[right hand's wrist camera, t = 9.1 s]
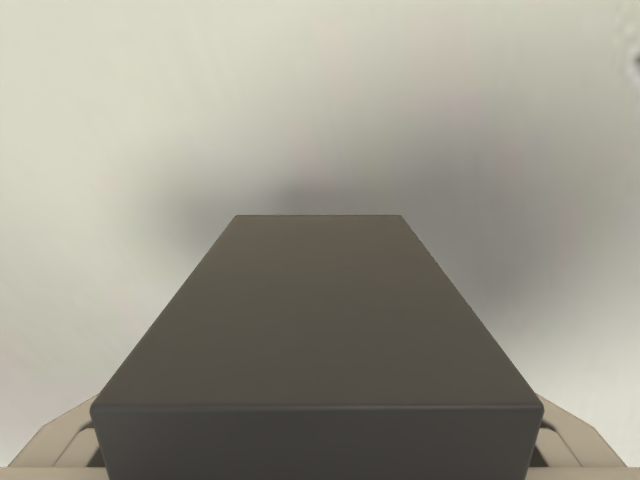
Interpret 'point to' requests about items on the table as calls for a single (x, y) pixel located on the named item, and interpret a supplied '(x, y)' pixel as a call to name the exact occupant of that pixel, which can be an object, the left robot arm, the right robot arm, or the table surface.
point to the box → (317, 366)
